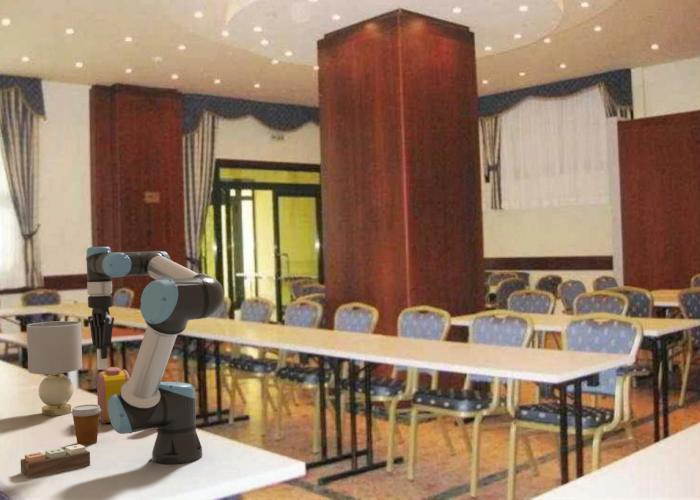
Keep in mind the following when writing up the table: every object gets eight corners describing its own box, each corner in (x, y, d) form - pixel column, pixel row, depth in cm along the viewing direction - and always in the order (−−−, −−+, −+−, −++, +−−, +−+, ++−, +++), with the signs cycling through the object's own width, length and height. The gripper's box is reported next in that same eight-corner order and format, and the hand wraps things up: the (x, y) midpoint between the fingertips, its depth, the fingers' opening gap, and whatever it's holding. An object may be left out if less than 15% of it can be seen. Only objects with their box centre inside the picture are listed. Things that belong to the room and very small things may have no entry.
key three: (45, 470, 230) (45, 454, 230) (30, 473, 227) (29, 457, 227) (40, 467, 234) (39, 451, 234) (25, 470, 231) (24, 454, 231)
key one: (85, 461, 238) (85, 446, 238) (71, 464, 235) (71, 449, 235) (80, 458, 242) (79, 443, 241) (65, 461, 239) (65, 446, 239)
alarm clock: (132, 423, 290) (131, 371, 290) (101, 427, 286) (99, 373, 286) (127, 413, 308) (125, 364, 307) (97, 416, 304) (96, 366, 303)
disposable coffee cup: (92, 447, 259) (91, 410, 258) (66, 446, 261) (65, 410, 260) (107, 439, 268) (106, 404, 268) (81, 438, 270) (80, 403, 270)
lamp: (67, 419, 300) (64, 326, 300) (18, 418, 303) (16, 326, 303) (92, 407, 320) (90, 320, 319) (46, 407, 323) (44, 321, 323)
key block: (90, 465, 238) (89, 451, 238) (29, 478, 226) (28, 464, 226) (81, 460, 243) (80, 447, 243) (20, 472, 231) (20, 459, 231)
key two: (66, 465, 234) (65, 450, 234) (51, 469, 231) (50, 453, 231) (60, 462, 238) (60, 447, 238) (45, 465, 235) (45, 450, 235)
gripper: (121, 294, 250) (123, 369, 250) (101, 293, 259) (103, 365, 259) (99, 296, 244) (101, 372, 245) (79, 295, 254) (81, 368, 254)
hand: (102, 368), depth 252 cm, fingers closed
